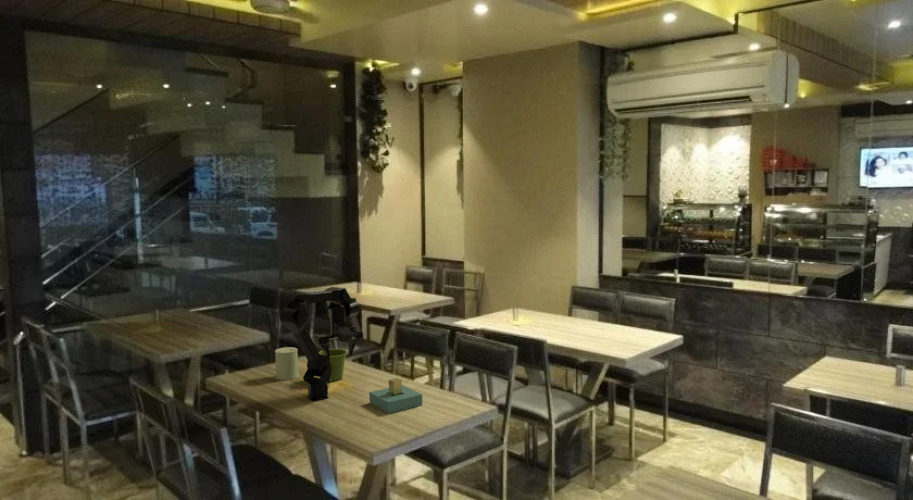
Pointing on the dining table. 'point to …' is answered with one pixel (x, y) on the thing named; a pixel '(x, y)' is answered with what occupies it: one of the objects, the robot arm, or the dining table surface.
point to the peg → (395, 387)
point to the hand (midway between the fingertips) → (339, 358)
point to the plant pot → (336, 363)
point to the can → (286, 363)
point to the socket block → (395, 399)
